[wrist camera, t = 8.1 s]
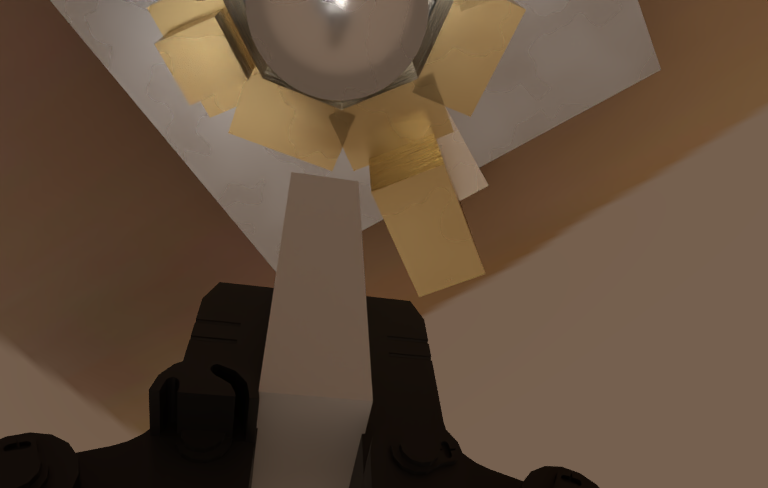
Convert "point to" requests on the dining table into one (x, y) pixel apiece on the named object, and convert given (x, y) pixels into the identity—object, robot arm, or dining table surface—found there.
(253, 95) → the ring nut
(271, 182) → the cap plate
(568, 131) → the dining table surface
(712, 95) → the dining table surface
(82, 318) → the dining table surface
